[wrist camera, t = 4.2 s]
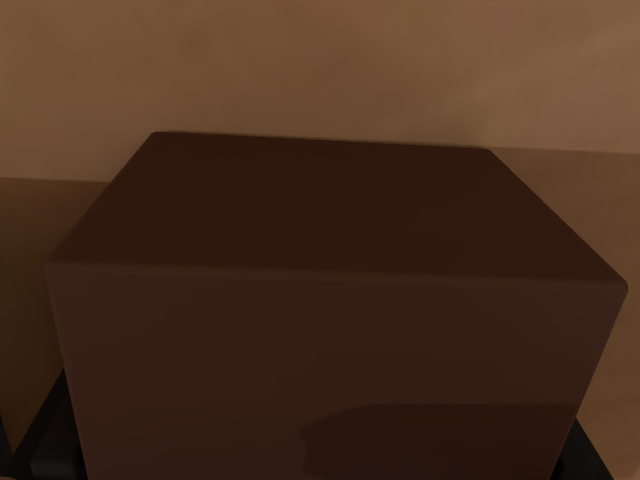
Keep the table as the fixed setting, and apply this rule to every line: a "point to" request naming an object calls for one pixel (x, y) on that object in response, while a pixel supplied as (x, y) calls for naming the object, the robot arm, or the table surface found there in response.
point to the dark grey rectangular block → (4, 452)
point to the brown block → (325, 315)
